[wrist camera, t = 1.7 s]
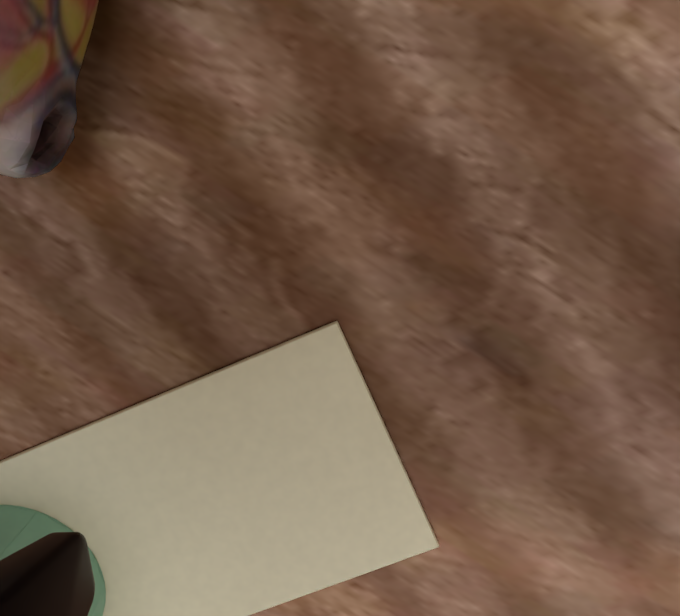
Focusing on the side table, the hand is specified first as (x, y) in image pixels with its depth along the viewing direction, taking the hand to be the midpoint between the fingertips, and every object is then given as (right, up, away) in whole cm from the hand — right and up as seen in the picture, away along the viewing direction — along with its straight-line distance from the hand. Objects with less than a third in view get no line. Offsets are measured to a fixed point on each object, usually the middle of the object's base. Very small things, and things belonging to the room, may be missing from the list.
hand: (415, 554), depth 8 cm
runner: (-18, -9, +16) cm, 26 cm away
